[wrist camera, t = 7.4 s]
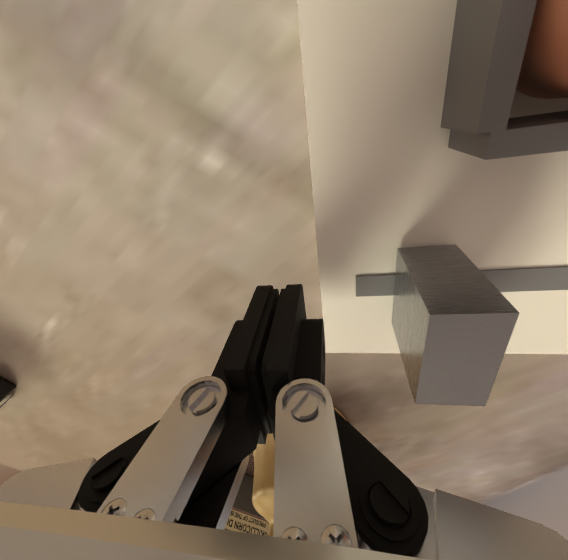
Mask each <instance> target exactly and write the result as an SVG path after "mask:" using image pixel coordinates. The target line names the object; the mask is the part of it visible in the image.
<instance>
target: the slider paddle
mask: <svg viewBox="0 0 568 560" xmlns="http://www.w3.org/2000/svg"><path fill="white" fill-rule="evenodd" d="M518 316H519V312H518V311H517V310H516V309H515V307H514V306H513V305H512V304H511V303H510V302H509V301H508V300H507V299H506V298H505V297H504V296H503V295H502V293H501V292H500V291H499V290H498V289H497V288H496V287H495V286H494V285H493V284H492V283H491V282H490V281H489V280H488V278H487V277H486V276H485V275H484V274H483V273H482V272H481V271H480V270H479V269H478V268H477V267H476V266H475V264H474V263H473V262H472V261H471V260H470V259H469V258H468V257H467V256H466V255H465V254H464V253H463V252H462V251H461V249H460V248H459V247H458V246H457V245H456V244H454V245H438V246H421V247H405V248H397V258H396V271H395V284H394V297H393V309H392V326H393V329H394V333H395V336H396V340H397V343H398V346H399V350H400V353H401V357H402V360H403V364H404V367H405V371H406V374H407V377H408V381H409V384H410V388H411V391H412V395H413V398H414V402H415V404H438V405H465V406H485V405H486V402H487V400H488V397H489V394H490V392H491V389H492V386H493V384H494V381H495V378H496V375H497V373H498V370H499V367H500V365H501V362H502V359H503V357H504V354H505V351H506V348H507V346H508V343H509V340H510V338H511V335H512V332H513V330H514V327H515V324H516V321H517V319H518Z"/></svg>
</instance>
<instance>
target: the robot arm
mask: <svg viewBox="0 0 568 560" xmlns="http://www.w3.org/2000/svg"><path fill="white" fill-rule="evenodd" d="M272 433H273V437H274V440H275V469H274V524H273V536H265V535H258V534H251V533H244V532H236V531H229V530H224V528H225V526H226V523H227V520H228V518H229V515H230V512H231V509H232V507H233V504H234V501H235V498H236V496H237V493H238V490H239V488H240V485H241V482H242V479H243V477H244V474H245V471H246V468H247V466H248V462H249V454H251V453H252V452H253V451H254V450H256V448H257V444H266V438H267V434H272ZM0 560H568V540H566V539H565V538H564V537H563V536H561V535H560V534H559V533H558V532H556V531H554V530H552V529H550V528H548V527H546V526H544V525H542V524H540V523H537V522H534V521H531V520H528V519H525V518H522V517H519V516H516V515H513V514H510V513H507V512H504V511H501V510H498V509H495V508H492V507H489V506H486V505H483V504H480V503H477V502H474V501H471V500H468V499H465V498H462V497H459V496H456V495H453V494H450V493H447V492H444V491H441V490H438V489H435V492H431V491H428V490H425V489H422V488H420V487H417V486H415V485H414V484H413V483H412V482H411V480H410V479H409V478H408V477H407V476H405V475H404V474H403V473H402V472H401V471H400V470H399V469H398V468H397V467H396V466H395V465H394V464H393V463H392V462H390V461H389V460H388V459H387V458H386V457H385V456H384V455H383V454H382V453H381V452H380V451H379V450H378V449H376V448H375V447H374V446H373V445H372V444H371V443H370V442H369V441H368V440H367V439H366V438H365V437H364V436H362V435H361V434H360V433H359V432H358V431H357V430H356V429H355V428H354V427H353V426H352V425H351V424H350V423H349V422H347V421H346V420H345V419H344V418H343V417H342V416H341V415H340V414H339V413H338V412H337V411H336V410H335V409H333V403H332V398H331V396H330V393H329V391H328V390H327V388H326V387H325V334H324V322H323V319H306V312H305V303H304V295H303V287H302V284H295V285H287V286H286V289H281V292H280V296H279V291H278V289H274V288H273V286H272V285H269V286H257V287H256V290H255V292H254V295H253V297H252V300H251V302H250V305H249V307H248V309H247V312H246V314H245V317H244V319H243V320H238V321H236V322H235V324H234V326H233V328H232V330H231V333H230V335H229V337H228V340H227V342H226V344H225V346H224V349H223V351H222V353H221V355H220V358H219V360H218V362H217V364H216V367H215V369H214V371H213V373H212V376H205V377H201V378H198V379H196V380H194V381H191V382H190V383H189V384H187V385H186V386H185V387H184V388H183V389H182V390H181V391H180V392H179V394H178V395H177V397H176V398H175V400H174V401H173V402H172V404H171V405H170V407H169V408H168V410H167V411H166V413H165V414H164V415H163V417H162V418H161V420H159V421H157V422H156V423H154V424H153V425H151V426H150V427H148V428H146V429H145V430H143V431H142V432H140V433H138V434H137V435H135V436H134V437H132V438H131V439H129V440H127V441H126V442H124V443H123V444H121V445H119V446H118V447H116V448H115V449H113V450H112V451H110V452H108V453H107V454H106V455H104V456H103V457H102V458H100V459H99V460H98V461H96V459H95V458H89V459H83V460H78V461H72V462H67V463H61V464H56V465H50V466H44V467H39V468H33V469H28V470H25V471H23V472H20V473H18V474H16V475H15V476H13V477H11V478H10V479H8V480H7V481H6V482H5V483H3V484H2V485H1V486H0Z"/></svg>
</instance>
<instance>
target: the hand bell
mask: <svg viewBox="0 0 568 560" xmlns="http://www.w3.org/2000/svg"><path fill="white" fill-rule="evenodd" d="M333 409H335V410H336V411H337V412H338V413H339V414H340V415H341V416H342V417H343V418H344V419H345V420H346V418H345V417H344V416H343V414H342V413H341V412H340V411H339V410H338V409H336V408H335V407H334V406H333ZM346 421H347V420H346ZM253 455H254V483H253V493H252V503H253V506H254V508H255V510H256V511H257V512H258V513H259V514H260V515H262V516H263V517H264V518H265V519H266V520H267V521H268V523H269V525H270V534H269V536H273V524H274V469H275V440H274V437H273V433H272V434H267V438H266V444H257V448H256V450H254V451H253Z"/></svg>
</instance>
